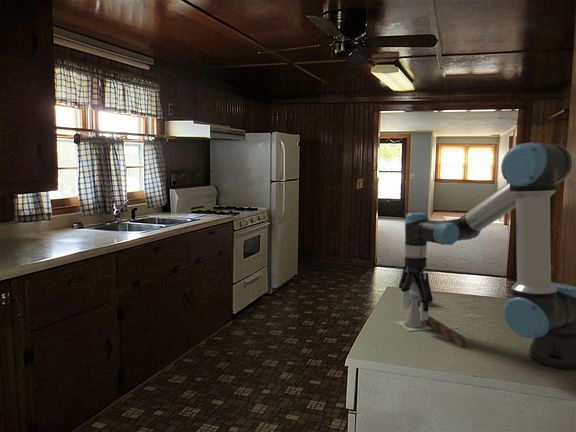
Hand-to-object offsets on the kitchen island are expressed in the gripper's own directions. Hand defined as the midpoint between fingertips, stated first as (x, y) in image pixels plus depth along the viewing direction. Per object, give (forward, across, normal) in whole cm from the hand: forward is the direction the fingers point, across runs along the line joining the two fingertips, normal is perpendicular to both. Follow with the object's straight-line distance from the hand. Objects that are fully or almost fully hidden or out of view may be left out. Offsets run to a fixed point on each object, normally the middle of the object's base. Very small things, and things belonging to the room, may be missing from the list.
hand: (414, 314), depth 178 cm
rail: (+5, -8, -6) cm, 11 cm away
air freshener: (+4, +27, -14) cm, 31 cm away
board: (+4, 0, 0) cm, 4 cm away
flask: (+4, 0, 0) cm, 4 cm away
